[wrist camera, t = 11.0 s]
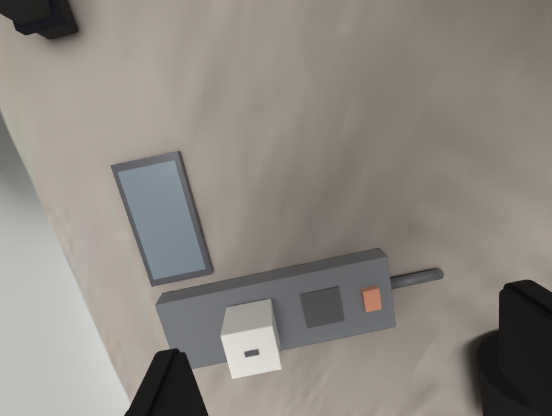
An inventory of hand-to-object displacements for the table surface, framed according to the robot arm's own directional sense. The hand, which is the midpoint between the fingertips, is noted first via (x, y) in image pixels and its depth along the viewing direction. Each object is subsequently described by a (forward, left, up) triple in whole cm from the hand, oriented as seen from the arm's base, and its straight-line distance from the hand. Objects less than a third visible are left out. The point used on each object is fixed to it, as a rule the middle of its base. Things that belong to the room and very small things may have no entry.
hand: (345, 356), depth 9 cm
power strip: (0, +13, -25) cm, 28 cm away
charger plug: (+6, +13, -24) cm, 28 cm away
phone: (+13, 0, -25) cm, 28 cm away
